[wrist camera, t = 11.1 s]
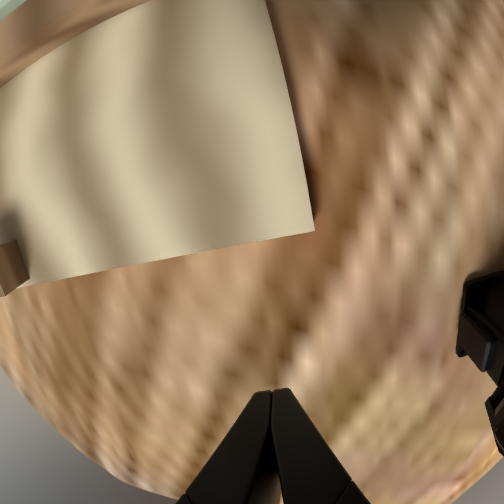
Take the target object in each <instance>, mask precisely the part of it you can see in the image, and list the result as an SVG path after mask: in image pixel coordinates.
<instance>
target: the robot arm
mask: <svg viewBox="0 0 504 504" xmlns="http://www.w3.org/2000/svg"><path fill="white" fill-rule="evenodd" d="M470 287H471V289H470V290H469V288H470ZM456 354H457V355H458V357H464V356H466V355H468V356H469V357H470V358H471V360H472V361H473V362H474V363H475V365H476V366H477V367H478V369H479V370H480V371H481V372H485V371H486V372H487V373H488V375H489V376H490V377H491V378H492V380H493V381H494V382H495V384H496V385H497V386H498V387H497V388H496V390H495V391H494V393H493V394H492V395H491V397H489V398H488V399H487V400H486V402H485V406H486V410H487V413H488V416H489V420H490V423H491V427H492V430H493V434H494V438H495V442H496V445H497V447H498V451H499V452H500V453H501V454H502V455H503V456H504V271H501V272H498V273H494V274H491V275H488V276H484V277H481V278H477V279H474V280H470V281H468V282H467V283H466V284H465V285H464V288H463V298H462V308H461V313H460V320H459V328H458V335H457V346H456ZM280 491H282V497H283V502H284V504H371V503H370V502H369V501H368V499H367V498H366V497H365V496H364V494H363V493H362V492H361V491H360V489H359V488H358V486H357V485H356V484H355V482H354V481H352V479H351V477H350V476H349V474H348V473H347V471H346V470H345V469H344V467H343V466H342V464H341V463H340V462H339V460H338V459H337V457H336V456H335V454H334V453H333V452H332V450H331V449H330V447H329V446H328V444H327V443H326V442H325V440H324V439H323V437H322V436H321V434H320V433H319V431H318V430H317V428H316V427H315V426H314V424H313V423H312V421H311V420H310V418H309V417H308V415H307V414H306V412H305V411H304V409H303V408H302V406H301V405H300V403H299V402H298V400H297V399H296V397H295V396H294V394H293V393H292V391H291V390H290V389H289V388H282V389H275V390H273V392H272V391H270V390H267V391H259V392H255V393H254V394H253V396H252V397H251V399H250V401H249V402H248V404H247V405H246V407H245V408H244V410H243V411H242V413H241V414H240V416H239V417H238V419H237V420H236V422H235V423H234V424H233V426H232V427H231V429H230V430H229V432H228V433H227V435H226V436H225V438H224V439H223V440H222V442H221V443H220V445H219V446H218V447H217V449H216V450H215V452H214V453H213V455H212V456H211V457H210V459H209V460H208V461H207V463H206V464H205V466H204V467H203V468H202V470H201V471H200V472H199V474H198V475H197V476H196V478H195V479H194V480H193V482H192V483H191V484H190V486H189V487H188V488H187V490H186V491H185V492H186V494H183V495H182V496H181V497H180V499H179V500H178V501H177V502H176V504H279V503H280Z"/></svg>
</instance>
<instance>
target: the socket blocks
mask: <svg viewBox="0 0 504 504" xmlns="http://www.w3.org/2000/svg"><path fill="white" fill-rule="evenodd" d="M25 1H27V0H0V21H1V20H3V19H4V18H5V17H6V16H7V15H9V14H10V13H11V12H12V11H14V10H15V9H16V8H17V7H19V6H20V5H21V4H23V3H24V2H25Z"/></svg>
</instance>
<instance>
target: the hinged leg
mask: <svg viewBox="0 0 504 504" xmlns="http://www.w3.org/2000/svg"><path fill="white" fill-rule="evenodd" d="M148 1H151V0H27V1H25V2H24V3H23V4H21V5H20V6H19V7H17V8H16V9H15V10H14V11H12V12H11V13H10V14H9V15H7V16H6V17H5V18H4V19H3V20H1V21H0V88H1V87H2V86H4V85H5V84H6V83H7V82H9V81H10V80H11V79H13V78H14V77H15V76H17V75H18V74H19V73H21V72H22V71H23V70H25V69H26V68H27V67H29V66H30V65H32V64H33V63H35V62H36V61H37V60H39V59H40V58H42V57H43V56H45V55H46V54H48V53H50V52H51V51H53V50H54V49H56V48H57V47H59V46H61V45H62V44H64V43H66V42H67V41H69V40H71V39H72V38H74V37H76V36H78V35H79V34H81V33H83V32H85V31H87V30H88V29H90V28H92V27H94V26H96V25H98V24H100V23H102V22H104V21H106V20H108V19H110V18H112V17H114V16H116V15H118V14H120V13H123V12H125V11H127V10H129V9H131V8H134V7H136V6H138V5H141V4H143V3H146V2H148Z"/></svg>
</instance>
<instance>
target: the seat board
mask: <svg viewBox="0 0 504 504" xmlns="http://www.w3.org/2000/svg"><path fill="white" fill-rule="evenodd" d="M311 231H315V229H314V223H313V217H312V211H311V205H310V199H309V193H308V188H307V182H306V176H305V171H304V166H303V160H302V155H301V150H300V145H299V140H298V135H297V130H296V125H295V121H294V116H293V111H292V107H291V102H290V98H289V93H288V89H287V84H286V80H285V76H284V72H283V68H282V63H281V59H280V55H279V51H278V47H277V43H276V40H275V36H274V32H273V28H272V24H271V21H270V17H269V13H268V10H267V6H266V3H265V0H151V1H148V2H146V3H143V4H141V5H138V6H136V7H134V8H131V9H129V10H127V11H125V12H123V13H120V14H118V15H116V16H114V17H112V18H110V19H108V20H106V21H104V22H102V23H100V24H98V25H96V26H94V27H92V28H90V29H88V30H87V31H85V32H83V33H81V34H79V35H78V36H76V37H74V38H72V39H71V40H69V41H67V42H66V43H64V44H62V45H61V46H59V47H57V48H56V49H54V50H53V51H51V52H50V53H48V54H46V55H45V56H43V57H42V58H40V59H39V60H37V61H36V62H35V63H33V64H32V65H30V66H29V67H27V68H26V69H25V70H23V71H22V72H21V73H19V74H18V75H17V76H15V77H14V78H13V79H11V80H10V81H9V82H7V83H6V84H5V85H4V86H2V87H1V88H0V297H2V296H6V295H7V294H9V293H10V292H11V291H13V290H14V289H16V288H20V287H25V286H30V285H35V284H40V283H44V282H49V281H54V280H59V279H64V278H69V277H74V276H79V275H84V274H90V273H95V272H100V271H105V270H110V269H115V268H120V267H125V266H130V265H135V264H141V263H146V262H151V261H156V260H161V259H167V258H172V257H177V256H182V255H187V254H193V253H198V252H203V251H209V250H214V249H219V248H225V247H230V246H235V245H241V244H246V243H251V242H257V241H262V240H268V239H273V238H278V237H284V236H289V235H295V234H300V233H306V232H311Z"/></svg>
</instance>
